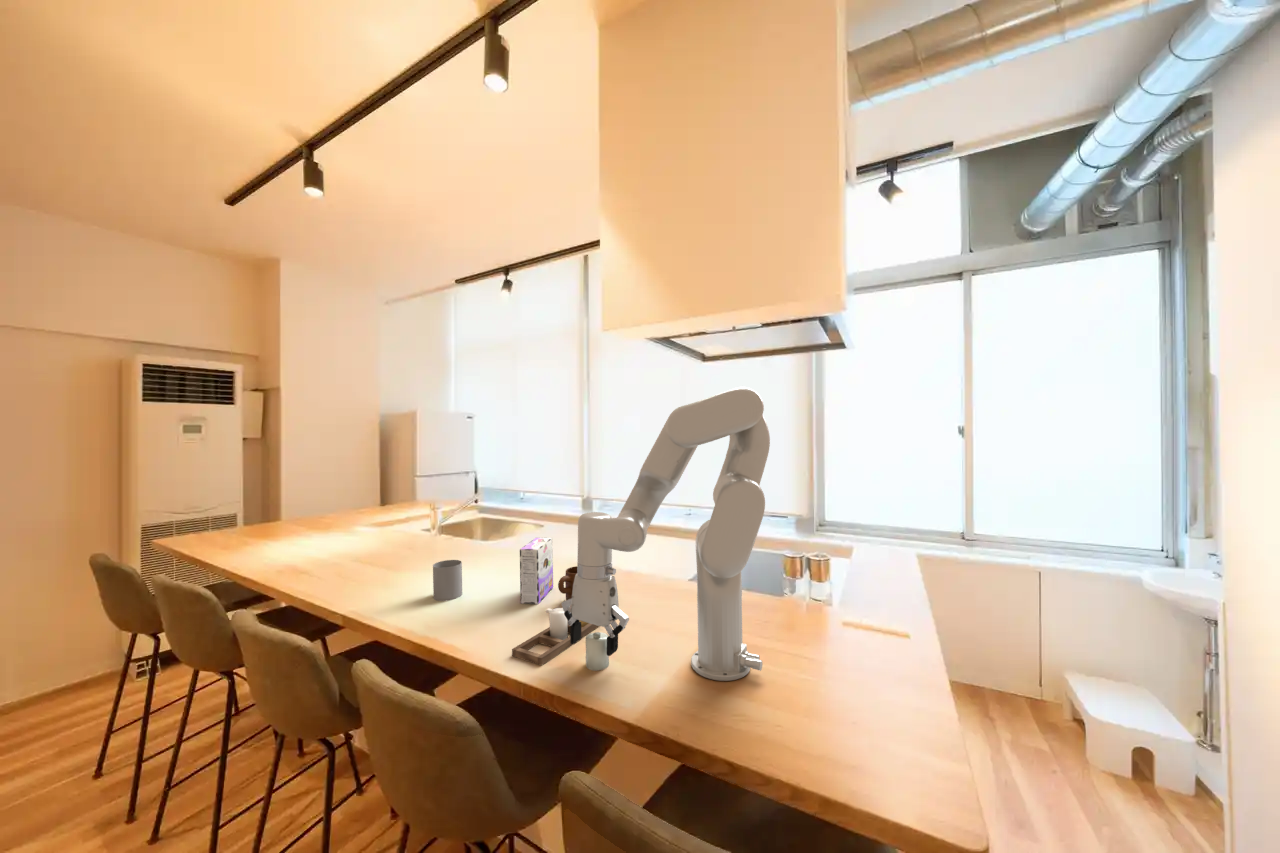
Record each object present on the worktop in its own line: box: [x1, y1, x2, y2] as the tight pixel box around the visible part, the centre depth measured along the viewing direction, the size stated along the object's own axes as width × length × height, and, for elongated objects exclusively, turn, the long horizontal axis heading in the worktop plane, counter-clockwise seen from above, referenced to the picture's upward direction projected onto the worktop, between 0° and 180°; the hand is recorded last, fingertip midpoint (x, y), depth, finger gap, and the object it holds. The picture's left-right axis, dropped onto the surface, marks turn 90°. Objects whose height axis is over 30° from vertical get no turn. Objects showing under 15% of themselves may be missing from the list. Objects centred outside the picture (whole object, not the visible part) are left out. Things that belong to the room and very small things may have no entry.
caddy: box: [511, 620, 600, 666], centre depth 115 cm, size 9×24×2 cm, turn 150°
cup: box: [432, 559, 463, 602], centre depth 145 cm, size 8×8×10 cm
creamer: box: [545, 607, 569, 640], centre depth 116 cm, size 6×4×6 cm
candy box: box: [519, 537, 554, 605], centre depth 144 cm, size 14×6×16 cm, turn 172°
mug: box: [557, 565, 577, 601], centre depth 137 cm, size 12×8×9 cm, turn 147°
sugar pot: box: [585, 631, 610, 672], centre depth 102 cm, size 5×5×7 cm
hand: (593, 647), depth 102 cm, fingers open, 9 cm apart
